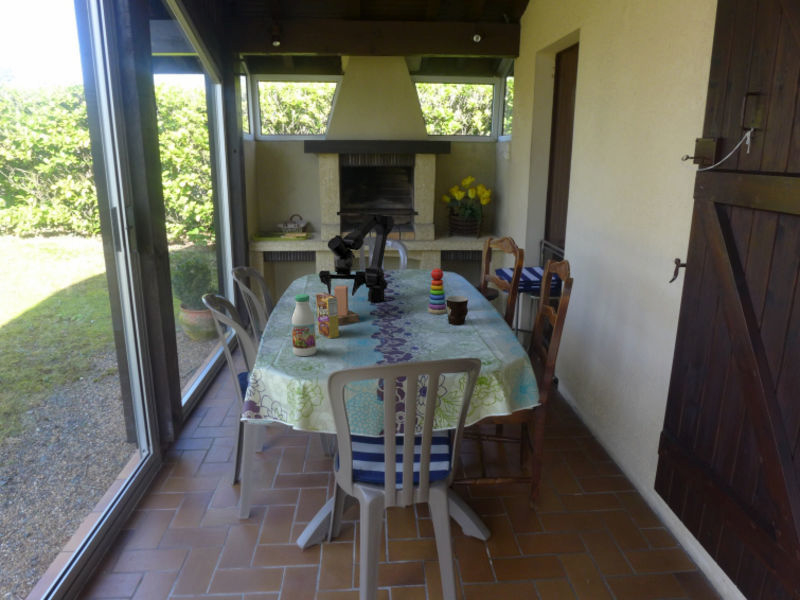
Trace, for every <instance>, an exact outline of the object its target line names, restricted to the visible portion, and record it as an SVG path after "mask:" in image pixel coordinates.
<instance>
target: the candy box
mask: <svg viewBox="0 0 800 600" xmlns="http://www.w3.org/2000/svg"><path fill="white" fill-rule="evenodd" d="M315 297H316V299H315V300H316V301H315V302H316V311H317V312H316V313H317V315H316V316H317V327H318V328H317V331H318V333H319V334H320V335H322V336H325V338H328V339H336V338H338V337H340V336H339V335H340V334H339V331H340V330H339V329H340V328H339V326H338V305H337V297H335V295H333V294H331V295H330V294H329V293H327V292H319V293H316V294H315Z"/></svg>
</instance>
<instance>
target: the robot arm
mask: <svg viewBox="0 0 800 600" xmlns="http://www.w3.org/2000/svg"><path fill="white" fill-rule="evenodd" d="M394 225H395V219H394V218H393V217H392V215H390V214H389V215H387V214H379V213H375V212H370V213H368V214H367V215H366V218H365V219H364V220H363V221H362V222H361V223H360V224H359V225H358V226H357V228H356V229H354V231H350V232H349V233H347V234H346V235H345V236H344V237H343V238H342V236H341V235H337V234H336V235H335V237H332V238H331V239H330V240H328V241H327V247H328V249H329V250H330V251H331V252H332V253H333V254H334V256H337V257H338V259H335V260H334V268H335V269H334V270H335V273H331V272H330V270H320V271H319V274H318V276H319V280H320V283H322V284H324V285H326V287H327V292H328V293H327V294H330V295H332V280H353V281H354V282H353V285H352V286H353V287H352V290H351V296H352V297H353V296H355V294H356V292H357V290H358V289H359V288H360V287H361V286H364V285H365V287H366V288H368V292H367V296H368V297H367V298H368V299H367V301H368V302H371V303H373V304H377V303H383V302H387V300H386V299H385V290H387V288H388V285H389V284H388V281H387V280H386V279H385V272H384V269H383V263H384V256H385V250H386V245H387V239H388V236H389V234H390V233H391V232H392V230H393V228H394ZM373 229H374V232H375V239H374V245H373V252H372V256H371V262H370V263H371V264H370V265H369V267H366V268H365V269H364V270H356V271H355V273H354V274H353V273H352V269H353V266H354V259H355V258H356V256H355V254H354V252H353V251H359V250H360V249H361V248H362V246H363V245H364V243H365V242H364V239H365V238H366V236H367V235H368V234H369V233H370V232H371V231H372V230H373Z"/></svg>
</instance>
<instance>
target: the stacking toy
mask: <svg viewBox="0 0 800 600" xmlns="http://www.w3.org/2000/svg"><path fill="white" fill-rule="evenodd" d="M430 275H431V276H430V277H431V278H432V280H431V285H430V291H429V292H430V295H429V300H428V302H429V303H428V309H427V311H428V312H429V313H430V314H433V315H442V314H443V315H444V314H446V313H447V303H446V294H445V290H444V288H445V287H444V280H443V277H444V271H443V270H442V269H441V268H434V269H433V270H432V271H431V273H430Z"/></svg>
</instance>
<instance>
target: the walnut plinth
mask: <svg viewBox="0 0 800 600" xmlns="http://www.w3.org/2000/svg"><path fill="white" fill-rule="evenodd" d="M354 322H356V323H360V315H359V313H356V312H354V311H352V310H350V309H348V314H347V315H338V327H339V325H340V326H344V325H345V326H346V325H350V323H351V324H355V323H354Z"/></svg>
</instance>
